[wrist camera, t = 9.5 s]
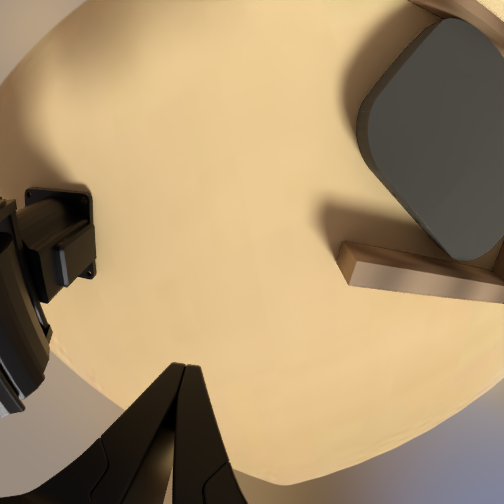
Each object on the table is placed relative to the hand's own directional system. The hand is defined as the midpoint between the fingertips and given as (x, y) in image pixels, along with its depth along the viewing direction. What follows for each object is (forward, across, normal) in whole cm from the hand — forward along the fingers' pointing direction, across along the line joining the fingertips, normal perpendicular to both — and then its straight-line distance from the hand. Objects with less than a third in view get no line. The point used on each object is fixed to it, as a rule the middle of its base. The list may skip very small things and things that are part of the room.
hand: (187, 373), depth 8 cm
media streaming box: (+12, -16, -9) cm, 22 cm away
